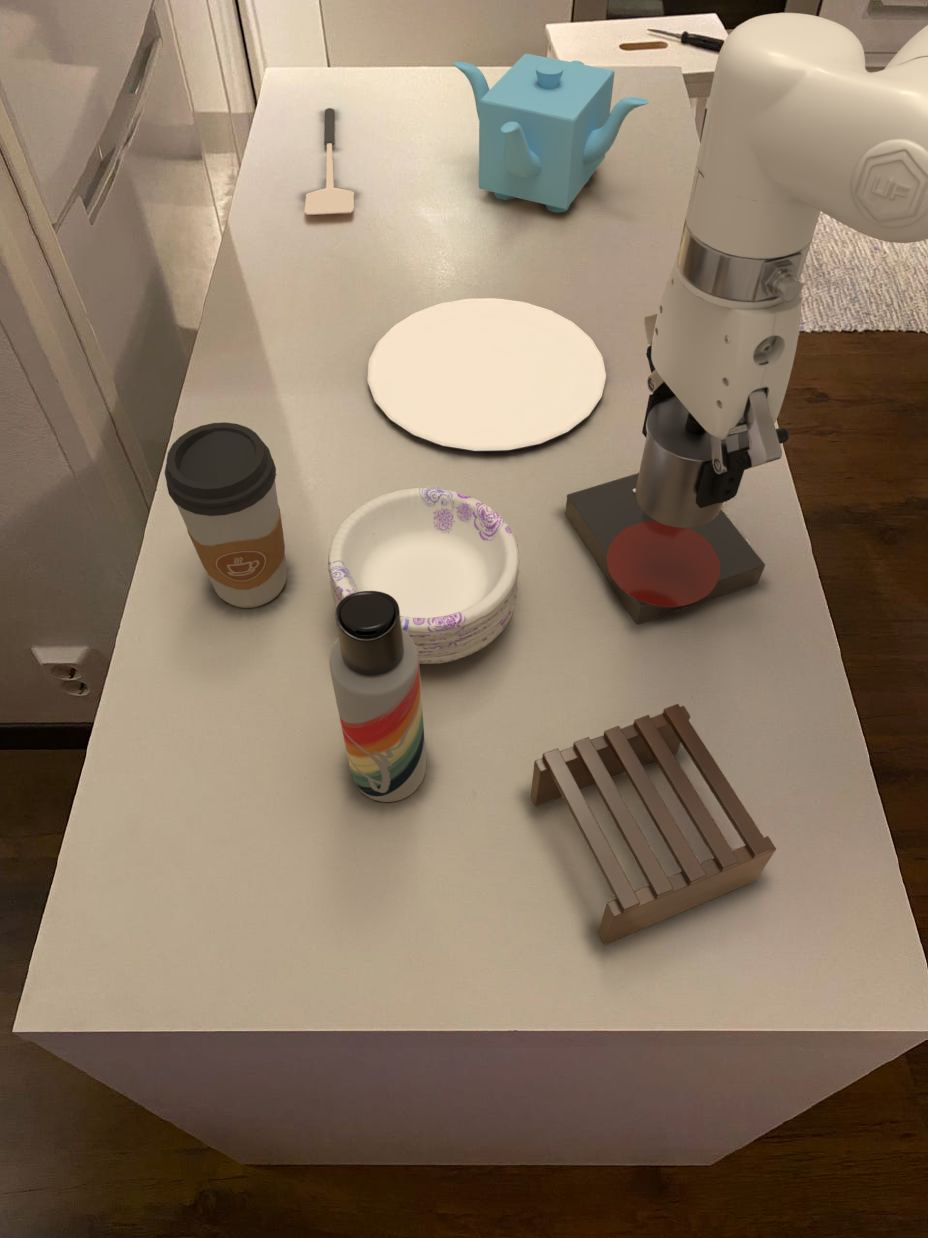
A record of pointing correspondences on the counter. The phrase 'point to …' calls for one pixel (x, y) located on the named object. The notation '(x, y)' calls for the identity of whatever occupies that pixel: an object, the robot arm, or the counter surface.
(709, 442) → the saucepan
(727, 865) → the drying rack
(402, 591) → the paper bowls
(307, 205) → the spatula
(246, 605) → the coffee cup
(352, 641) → the lotion bottle
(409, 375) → the plate
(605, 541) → the hob
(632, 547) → the burner ring
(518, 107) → the teakettle
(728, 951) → the counter surface
